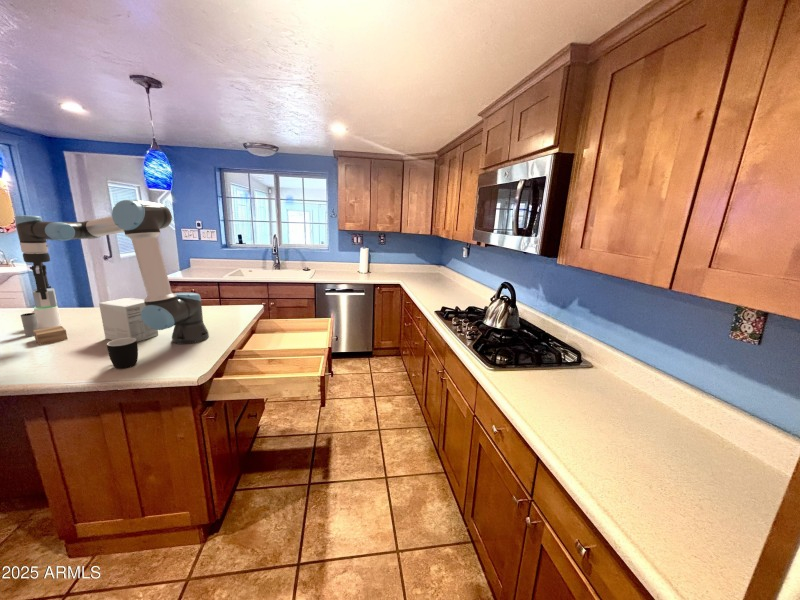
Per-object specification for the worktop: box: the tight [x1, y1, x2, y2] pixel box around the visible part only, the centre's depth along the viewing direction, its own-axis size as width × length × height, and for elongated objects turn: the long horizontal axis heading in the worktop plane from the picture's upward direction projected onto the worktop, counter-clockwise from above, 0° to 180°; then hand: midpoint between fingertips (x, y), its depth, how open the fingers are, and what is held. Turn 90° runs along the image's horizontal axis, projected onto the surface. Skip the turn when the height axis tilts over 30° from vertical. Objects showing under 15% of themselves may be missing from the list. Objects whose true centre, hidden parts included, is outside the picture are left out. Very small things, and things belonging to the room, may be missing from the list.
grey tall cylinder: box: [20, 312, 40, 337], centre depth 150 cm, size 4×4×10 cm
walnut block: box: [33, 325, 68, 346], centre depth 146 cm, size 9×9×5 cm
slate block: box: [32, 287, 58, 308], centre depth 139 cm, size 6×6×7 cm
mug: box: [106, 338, 139, 370], centre depth 125 cm, size 12×9×10 cm
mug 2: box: [28, 304, 62, 329], centre depth 160 cm, size 12×8×10 cm
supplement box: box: [98, 297, 159, 343], centre depth 152 cm, size 17×13×18 cm
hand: (46, 304), depth 140 cm, fingers closed on slate block, 6 cm apart
